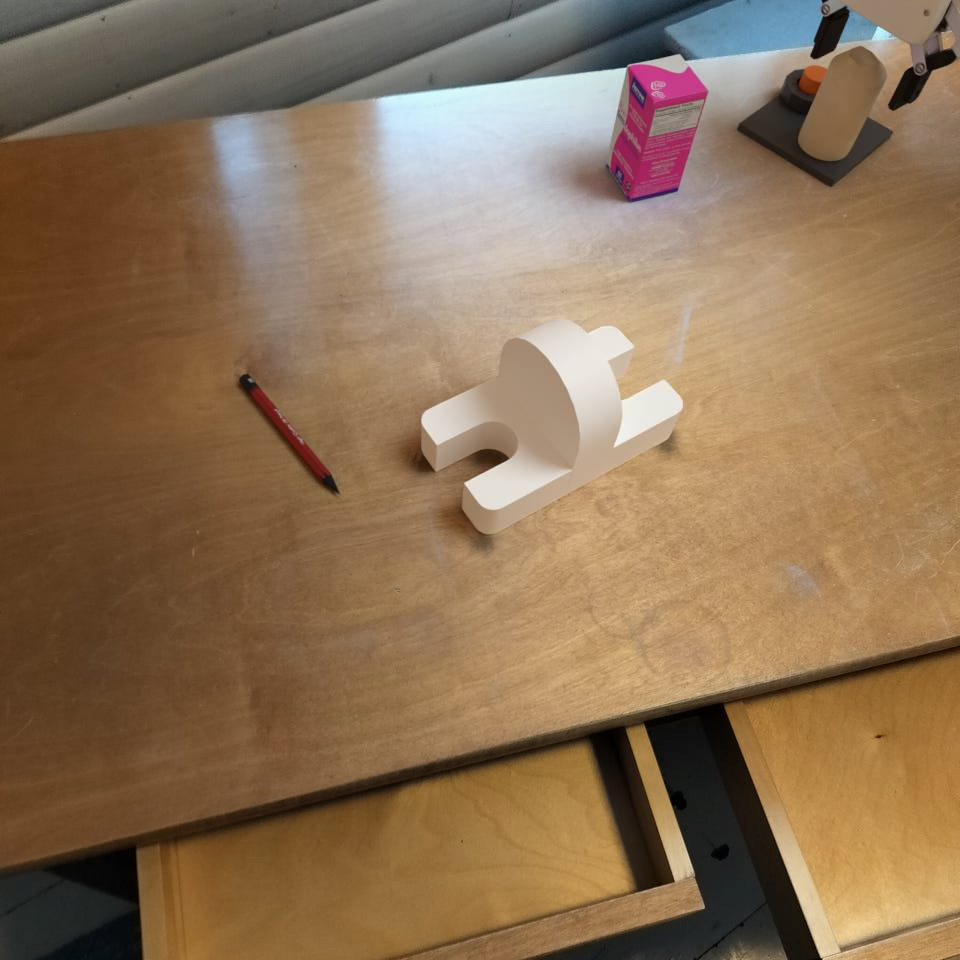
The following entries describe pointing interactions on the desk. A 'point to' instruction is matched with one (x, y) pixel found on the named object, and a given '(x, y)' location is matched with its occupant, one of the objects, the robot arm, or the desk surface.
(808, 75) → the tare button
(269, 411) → the pencil
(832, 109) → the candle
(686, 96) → the supplement box
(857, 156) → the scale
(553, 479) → the bracket
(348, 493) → the desk surface
